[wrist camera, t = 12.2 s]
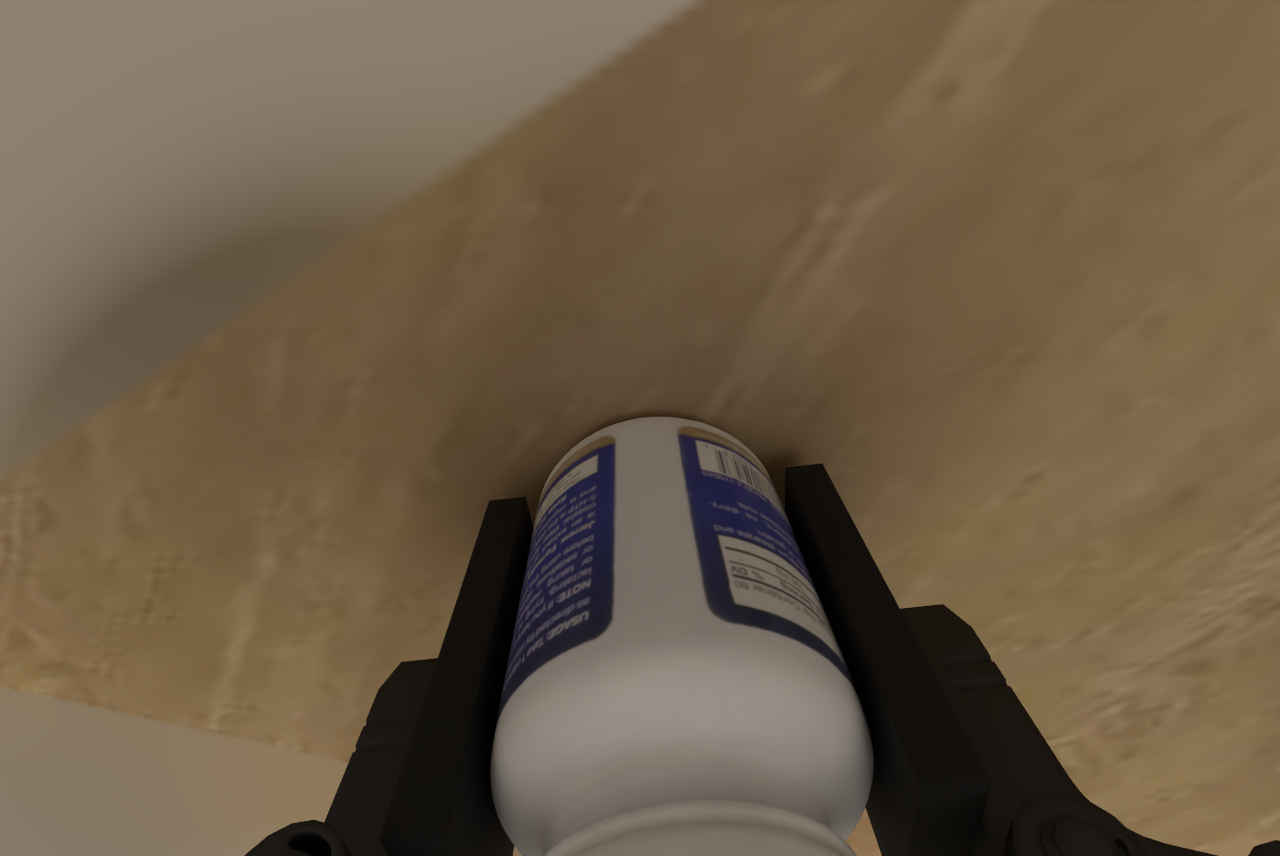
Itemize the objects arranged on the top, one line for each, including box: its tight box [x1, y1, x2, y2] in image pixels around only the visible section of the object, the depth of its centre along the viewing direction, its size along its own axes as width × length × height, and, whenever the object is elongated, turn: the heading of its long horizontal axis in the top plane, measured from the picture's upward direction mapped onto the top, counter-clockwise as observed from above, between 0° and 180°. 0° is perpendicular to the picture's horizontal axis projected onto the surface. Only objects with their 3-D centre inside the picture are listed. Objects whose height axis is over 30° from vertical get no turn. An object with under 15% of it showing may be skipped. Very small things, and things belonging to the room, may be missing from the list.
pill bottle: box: [490, 417, 874, 856], centre depth 10 cm, size 5×5×9 cm
